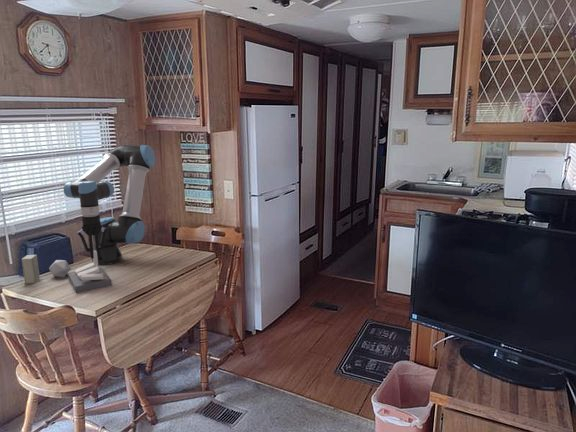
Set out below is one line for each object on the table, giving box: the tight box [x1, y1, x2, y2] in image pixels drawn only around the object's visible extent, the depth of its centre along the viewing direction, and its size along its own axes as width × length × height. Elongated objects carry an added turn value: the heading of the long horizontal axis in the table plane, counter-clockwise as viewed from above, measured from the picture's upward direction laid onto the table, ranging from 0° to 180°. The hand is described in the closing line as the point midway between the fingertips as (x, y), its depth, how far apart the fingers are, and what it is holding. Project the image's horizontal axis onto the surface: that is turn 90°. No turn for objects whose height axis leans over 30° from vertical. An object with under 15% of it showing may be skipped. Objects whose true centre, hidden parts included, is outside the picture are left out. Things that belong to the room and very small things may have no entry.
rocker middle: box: [77, 266, 100, 279], centre depth 202 cm, size 4×9×1 cm, turn 124°
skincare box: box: [21, 254, 40, 284], centre depth 204 cm, size 6×4×12 cm
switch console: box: [67, 267, 113, 294], centre depth 202 cm, size 21×15×4 cm
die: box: [48, 259, 72, 278], centre depth 211 cm, size 8×9×10 cm
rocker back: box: [74, 262, 97, 274], centre depth 207 cm, size 4×9×1 cm, turn 124°
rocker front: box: [80, 274, 104, 280], centre depth 196 cm, size 4×9×1 cm, turn 124°
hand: (95, 264), depth 203 cm, fingers closed
